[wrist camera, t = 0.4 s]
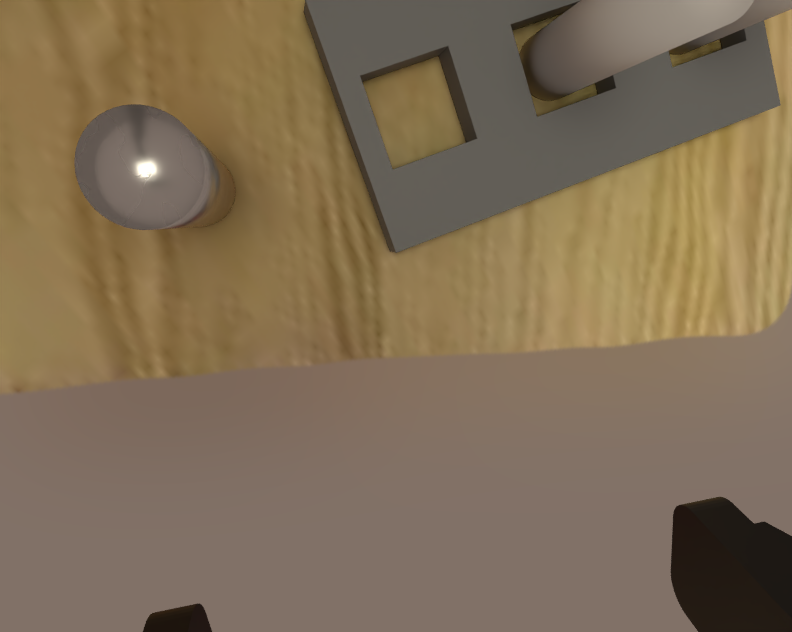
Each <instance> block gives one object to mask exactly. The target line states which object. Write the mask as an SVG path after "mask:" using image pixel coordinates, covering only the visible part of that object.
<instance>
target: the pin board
mask: <svg viewBox="0 0 792 632" xmlns="http://www.w3.org/2000/svg"><path fill="white" fill-rule="evenodd" d="M790 9H792V0H305V6H304V14H305V17H306V20H307V23H308V25H309V28H310V31H311V34H312V36H313V39H314V42H315V45H316V48H317V50H318V53H319V56H320V59H321V61H322V64H323V67H324V70H325V73H326V75H327V78H328V81H329V84H330V86H331V89H332V92H333V95H334V98H335V100H336V103H337V106H338V109H339V111H340V114H341V117H342V120H343V123H344V125H345V128H346V131H347V134H348V136H349V139H350V142H351V145H352V148H353V150H354V153H355V156H356V159H357V161H358V164H359V167H360V170H361V172H362V175H363V178H364V181H365V184H366V186H367V189H368V192H369V195H370V197H371V200H372V203H373V206H374V209H375V211H376V214H377V217H378V220H379V222H380V225H381V228H382V231H383V234H384V236H385V239H386V242H387V245H388V247H389V250H390V251H391V252H395V253H397V252H399V251H402V250H405V249H407V248H410V247H413V246H415V245H418V244H420V243H423V242H426V241H428V240H431V239H433V238H436V237H439V236H441V235H444V234H446V233H449V232H452V231H454V230H457V229H459V228H462V227H465V226H467V225H470V224H472V223H475V222H478V221H480V220H483V219H485V218H488V217H491V216H493V215H496V214H498V213H501V212H504V211H506V210H509V209H512V208H514V207H517V206H519V205H522V204H525V203H527V202H530V201H532V200H535V199H538V198H540V197H543V196H545V195H548V194H551V193H553V192H556V191H558V190H561V189H564V188H566V187H569V186H571V185H574V184H577V183H579V182H582V181H584V180H587V179H590V178H592V177H595V176H597V175H600V174H603V173H605V172H608V171H610V170H613V169H616V168H618V167H621V166H624V165H626V164H629V163H631V162H634V161H637V160H639V159H642V158H644V157H647V156H650V155H652V154H655V153H657V152H660V151H663V150H665V149H668V148H670V147H673V146H676V145H678V144H681V143H683V142H686V141H689V140H691V139H694V138H696V137H699V136H702V135H704V134H707V133H709V132H712V131H715V130H717V129H720V128H722V127H725V126H728V125H730V124H733V123H736V122H738V121H741V120H743V119H746V118H749V117H751V116H754V115H756V114H759V113H762V112H764V111H767V110H769V109H772V108H775V107H777V106H780V100H779V95H778V90H777V85H776V80H775V75H774V70H773V65H772V60H771V54H770V49H769V44H768V39H767V34H766V29H765V24H764V20H766V19H768V18H771V17H773V16H776V15H778V14H780V13H783V12H785V11H788V10H790ZM561 13H563V14H562V15H560V16H559V17H558V18H556V19H555V20H554V21H552V22H551V23H549V24H548V25H547V26H545V27H544V28H543V29H541V30H540V31H539V32H537V33H536V34H534V35H533V36H532V37H531V38H529V39H528V40H527V42H526V43H525V44H524V46H523V48H522V49H521V52H520V55H519V52H518V49H517V45H516V42H515V38H514V35H513V31H512V30H515V29H518V28H521V27H523V26H526V25H529V24H532V23H535V22H538V21H541V20H544V19H547V18H550V17H553V16H556V15H558V14H561ZM718 39H720V40H721V44H722V50H719V51H716V52H714V53H711V54H708V55H705V56H703V57H700V58H697V59H694V60H692V61H689V62H686V63H683V64H681V65H678V66H675V67H672V64H671V59H670V55H669V53H670V54H683V53H686V52H689V51H691V50H694V49H696V48H698V47H701V46H703V45H706V44H708V43H710V42H713V41H715V40H718ZM436 56H439V58H440V61H441V64H442V68H443V71H444V74H445V77H446V80H447V83H448V87H449V90H450V93H451V96H452V99H453V102H454V105H455V109H456V112H457V115H458V118H459V121H460V124H461V127H462V131H463V134H464V137H465V140H466V143H464V144H461V145H459V146H456V147H453V148H450V149H448V150H445V151H442V152H439V153H437V154H434V155H431V156H429V157H426V158H423V159H420V160H418V161H415V162H412V163H409V164H407V165H404V166H401V167H398V168H396V169H392V166H391V163H390V160H389V157H388V155H387V152H386V149H385V146H384V143H383V140H382V137H381V134H380V132H379V129H378V126H377V123H376V120H375V117H374V114H373V111H372V109H371V106H370V103H369V100H368V97H367V94H366V91H365V88H364V86H363V83H362V82H363V81H366V80H369V79H372V78H375V77H378V76H380V75H383V74H386V73H389V72H392V71H395V70H398V69H401V68H404V67H407V66H410V65H413V64H416V63H418V62H421V61H424V60H427V59H430V58H433V57H436ZM594 83H595V84H596V88H597V92H598V95H596V96H593V97H590V98H588V99H585V100H582V101H579V102H577V103H574V104H571V105H568V106H566V107H563V108H560V109H557V110H555V111H552V112H549V113H546V114H544V115H541V116H538V117H537V115H536V111H535V108H534V104H533V101H532V97H531V94H532V95H533V96H535V97H536V98H539V99H542V100H547V101H551V100H556V99H559V98H562V97H564V96H566V95H569V94H571V93H573V92H575V91H578V90H580V89H582V88H584V87H587V86H589V85H591V84H594Z"/></svg>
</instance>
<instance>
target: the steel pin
mask: <svg viewBox="0 0 792 632" xmlns="http://www.w3.org/2000/svg"><path fill="white" fill-rule="evenodd" d="M75 173H76V177H77V181H78V183H79V186H80V189H81V191H82V192H83V194H84V196H85V198H86V199H87V200H88V202H89V203H90V204H91V205H92V206H93V207H94V209H95V210H96V211H98V212H99V213H100V214H101V215H102V216H104V217H105V218H107V219H108V220H110V221H112V222H114V223H116V224H118V225H121V226H124V227H127V228H132V229H139V230H153V229H169V228H184V227H199V226H208V225H212V224H214V223H217V222H219V221H220V220H222V219H223V218H224V217H225V216H226V215H227V214H228V213H229V211H230V210H231V208H232V206H233V204H234V200H235V193H236V192H235V184H234V180H233V178H232V175H231V173H230V172H229V170H228V169H227V168H226V167H225V165H224V164H223V163H222V162H221V161H220V160H219V159H218V158H217V157H216V156H215V155H214V154H213V153H212V152H211V151H210V150H209V149H208V148H207V147H206V146H205V145H204V144H203V143H202V142H201V141H200V140H199V139H198V138H197V137H196V136H195V135H194V134H193V133H192V132H191V131H190V130H189V129H188V128H187V127H185V126H184V125H183V124H182V123H181V122H180V121H179V120H178V119H176V118H175V117H173V116H172V115H170V114H168V113H167V112H165V111H162V110H160V109H157V108H154V107H150V106H145V105H123V106H119V107H115V108H112V109H110V110H107V111H105V112H104V113H102V114H100V115H99V116H97V117H96V118H95V119H94V120H92V121H91V123H90V124H89V125H88V126H87V127H86V128H85V130H84V131H83V133H82V135H81V137H80V139H79V141H78V144H77V147H76V152H75Z"/></svg>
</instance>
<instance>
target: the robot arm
mask: <svg viewBox="0 0 792 632" xmlns="http://www.w3.org/2000/svg"><path fill="white" fill-rule="evenodd" d="M671 580H672V584H673V588H674V592H675V595H676V597H677V599H678V602H679V604H680V606H681V607H682V609H683V611H684V613H685V614H686V615H687V617H688V618H689V619H690V621H691V622H692V624H693V625H694V626H695V628H696V629H697V631H698V632H792V536H790V535H788V534H787V533H785V532H783V531H781V530H779V529H777V528H775V527H773V526H772V525H770V524H768V523H766V522H760V523H756V524H754V523H753V522H752V521H750V520H749V519H748V518H747V517H746V516H745V515H744V514H743V513H742V512H741V511H740V510H739V509H738V508H737V507H736V506H735V505H734V504H733V503H732V502H730V501H729V500H728V499H726V498H723V497H716V498H711V499H706V500H702V501H697V502H692V503H687V504H683V505H679V506H677V507H676V508H675V510H674V514H673V535H672V556H671ZM143 632H212V630H211V627H210V624H209V621H208V618H207V615H206V612H205V610H204V608H203V606H202V605H201V604H194V605H189V606H184V607H180V608H174V609H170V610H165V611H160V612H155V613H152V614H151V615H150V616H149V617H148V619H147V621H146V624H145V627H144V630H143Z"/></svg>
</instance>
